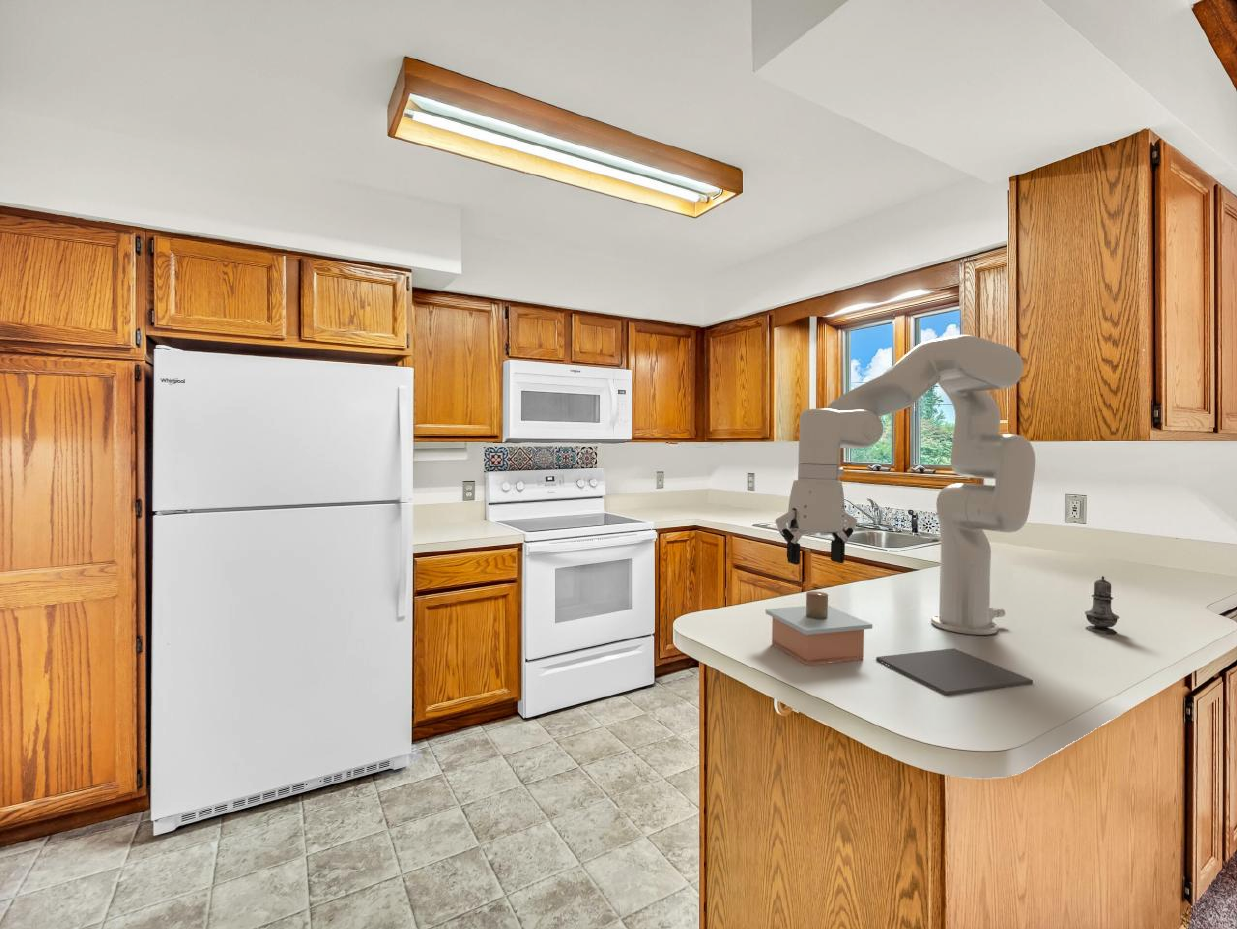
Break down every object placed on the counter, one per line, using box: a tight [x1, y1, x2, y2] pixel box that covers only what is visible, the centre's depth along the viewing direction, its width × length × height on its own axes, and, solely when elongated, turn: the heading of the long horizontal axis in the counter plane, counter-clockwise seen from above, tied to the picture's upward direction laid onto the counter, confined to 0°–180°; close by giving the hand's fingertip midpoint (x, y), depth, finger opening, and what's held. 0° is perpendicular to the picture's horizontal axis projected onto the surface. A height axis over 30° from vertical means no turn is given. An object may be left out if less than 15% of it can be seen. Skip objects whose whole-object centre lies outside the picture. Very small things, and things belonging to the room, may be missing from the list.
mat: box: [875, 647, 1034, 696], centre depth 104 cm, size 18×16×1 cm
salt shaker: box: [1084, 575, 1120, 635], centre depth 127 cm, size 6×6×12 cm
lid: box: [765, 590, 873, 635], centre depth 113 cm, size 14×14×6 cm
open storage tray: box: [771, 617, 865, 667], centre depth 113 cm, size 12×12×6 cm
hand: (815, 562), depth 113 cm, fingers open, 9 cm apart
